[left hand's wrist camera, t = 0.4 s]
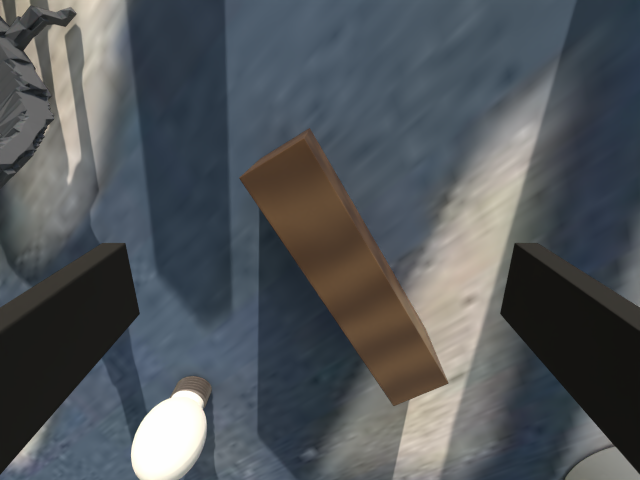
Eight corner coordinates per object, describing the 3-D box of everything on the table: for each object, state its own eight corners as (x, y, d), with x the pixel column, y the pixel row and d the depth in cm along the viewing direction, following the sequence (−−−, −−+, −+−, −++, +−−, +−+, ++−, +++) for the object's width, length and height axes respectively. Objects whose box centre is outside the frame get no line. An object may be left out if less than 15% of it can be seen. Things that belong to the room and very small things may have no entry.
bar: (259, 159, 33) (238, 178, 25) (309, 128, 31) (303, 137, 24) (381, 348, 40) (393, 406, 33) (425, 328, 39) (448, 383, 31)
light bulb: (214, 363, 41) (176, 451, 31) (228, 407, 44) (197, 502, 33) (158, 368, 42) (102, 457, 31) (175, 412, 44) (128, 507, 34)
